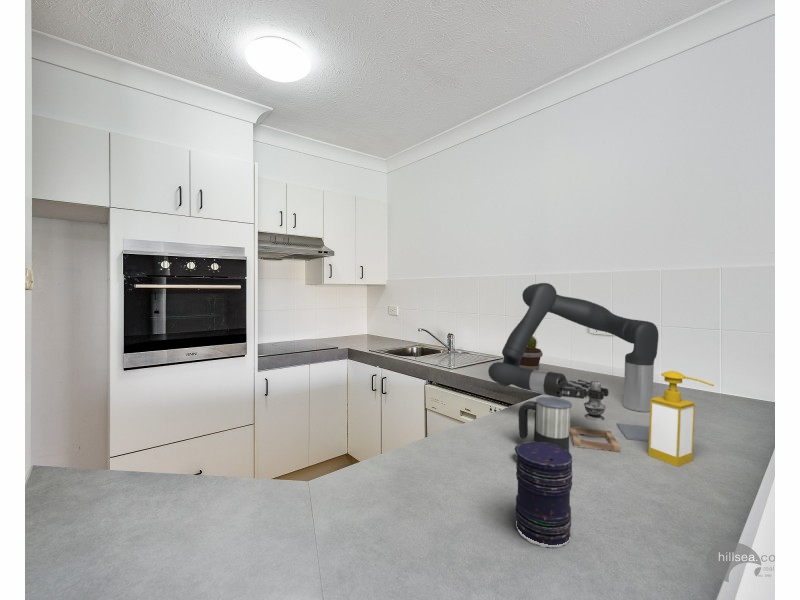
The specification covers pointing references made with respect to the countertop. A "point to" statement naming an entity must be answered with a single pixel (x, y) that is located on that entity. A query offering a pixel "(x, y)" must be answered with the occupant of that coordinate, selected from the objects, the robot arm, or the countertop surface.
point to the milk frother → (547, 421)
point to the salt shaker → (595, 404)
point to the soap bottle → (672, 423)
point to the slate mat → (634, 431)
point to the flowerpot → (531, 356)
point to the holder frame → (611, 439)
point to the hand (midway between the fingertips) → (605, 394)
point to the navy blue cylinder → (544, 492)
